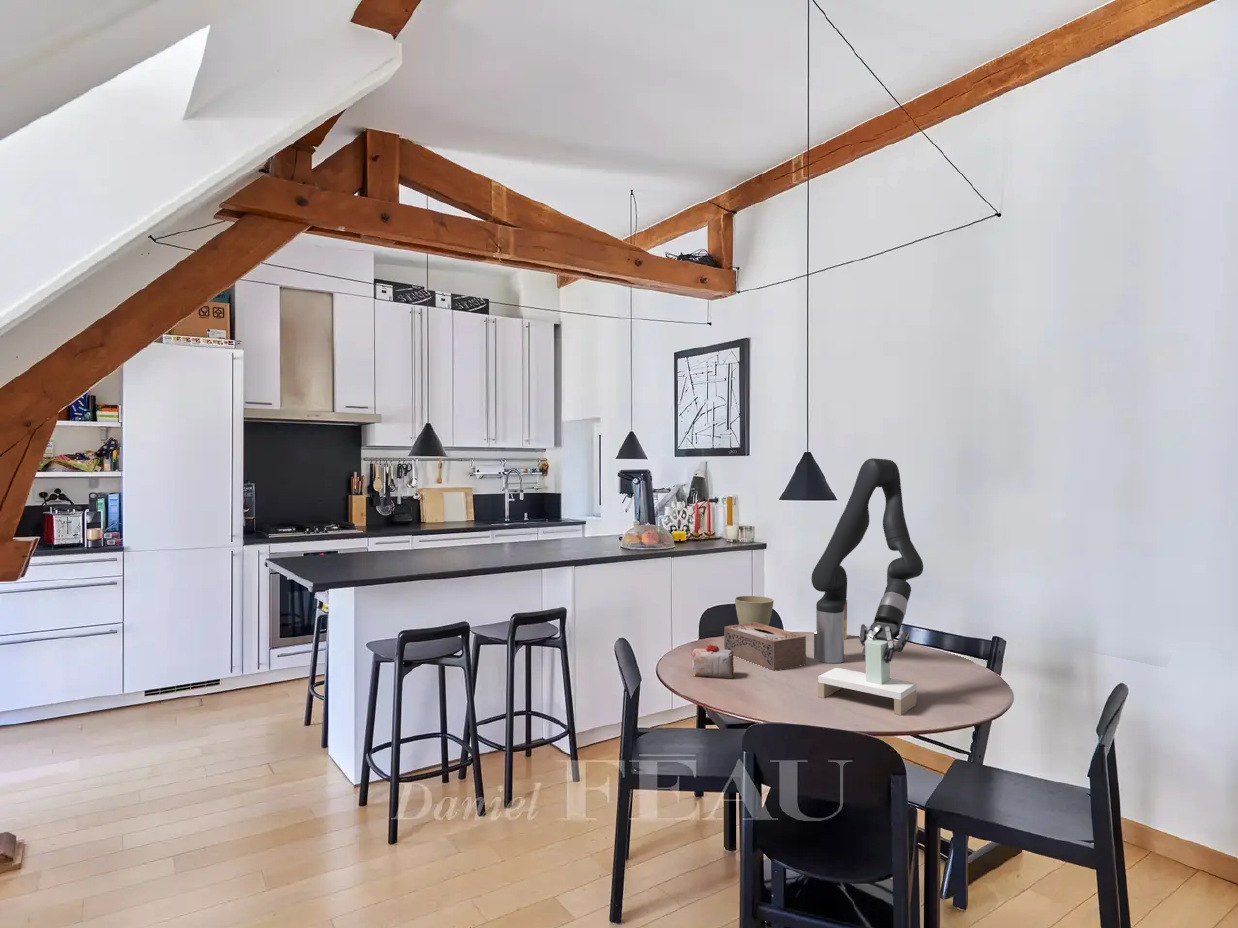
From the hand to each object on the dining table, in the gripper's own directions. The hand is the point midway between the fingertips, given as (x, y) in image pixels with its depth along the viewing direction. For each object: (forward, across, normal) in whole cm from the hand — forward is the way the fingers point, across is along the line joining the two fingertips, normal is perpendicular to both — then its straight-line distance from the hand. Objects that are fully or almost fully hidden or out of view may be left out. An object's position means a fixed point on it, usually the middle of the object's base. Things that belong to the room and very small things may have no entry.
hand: (875, 659), depth 206 cm
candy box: (-37, -42, +55) cm, 78 cm away
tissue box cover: (-5, -48, +24) cm, 54 cm away
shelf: (+8, -3, +9) cm, 13 cm away
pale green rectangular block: (+3, 0, +6) cm, 7 cm away
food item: (+14, -50, +4) cm, 53 cm away
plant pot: (-21, -65, +39) cm, 79 cm away
